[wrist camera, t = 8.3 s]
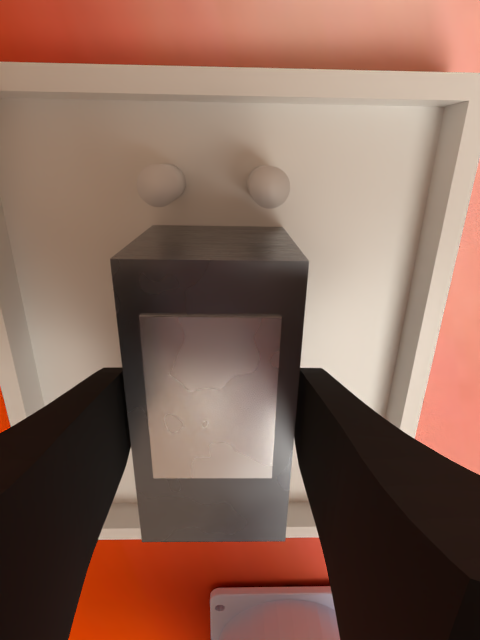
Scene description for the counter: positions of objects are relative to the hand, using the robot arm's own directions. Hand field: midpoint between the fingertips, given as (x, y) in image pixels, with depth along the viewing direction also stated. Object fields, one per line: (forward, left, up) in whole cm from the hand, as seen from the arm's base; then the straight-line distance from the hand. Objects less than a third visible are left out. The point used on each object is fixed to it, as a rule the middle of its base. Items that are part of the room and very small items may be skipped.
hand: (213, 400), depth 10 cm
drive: (0, 0, -3) cm, 3 cm away
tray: (0, 0, -4) cm, 4 cm away
